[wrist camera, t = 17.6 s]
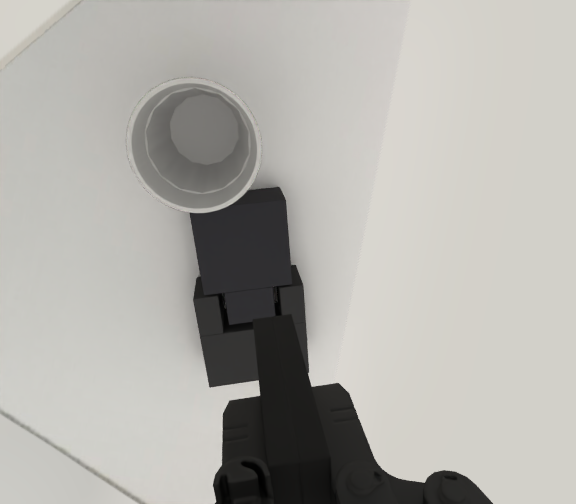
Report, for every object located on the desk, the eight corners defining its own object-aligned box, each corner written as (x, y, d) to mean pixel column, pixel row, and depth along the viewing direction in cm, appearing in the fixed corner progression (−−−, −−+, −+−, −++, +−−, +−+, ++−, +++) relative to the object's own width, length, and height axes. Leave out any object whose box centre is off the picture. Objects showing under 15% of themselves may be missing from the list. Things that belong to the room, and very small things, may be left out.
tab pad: (193, 195, 38) (189, 209, 34) (279, 186, 39) (285, 199, 34) (211, 303, 42) (209, 327, 38) (288, 293, 43) (294, 316, 39)
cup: (184, 58, 34) (162, 47, 22) (268, 112, 36) (286, 125, 25) (142, 145, 36) (103, 173, 25) (224, 190, 38) (223, 234, 27)
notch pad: (196, 277, 41) (193, 299, 37) (295, 264, 42) (303, 285, 38) (211, 359, 45) (209, 387, 41) (301, 346, 46) (309, 372, 42)
